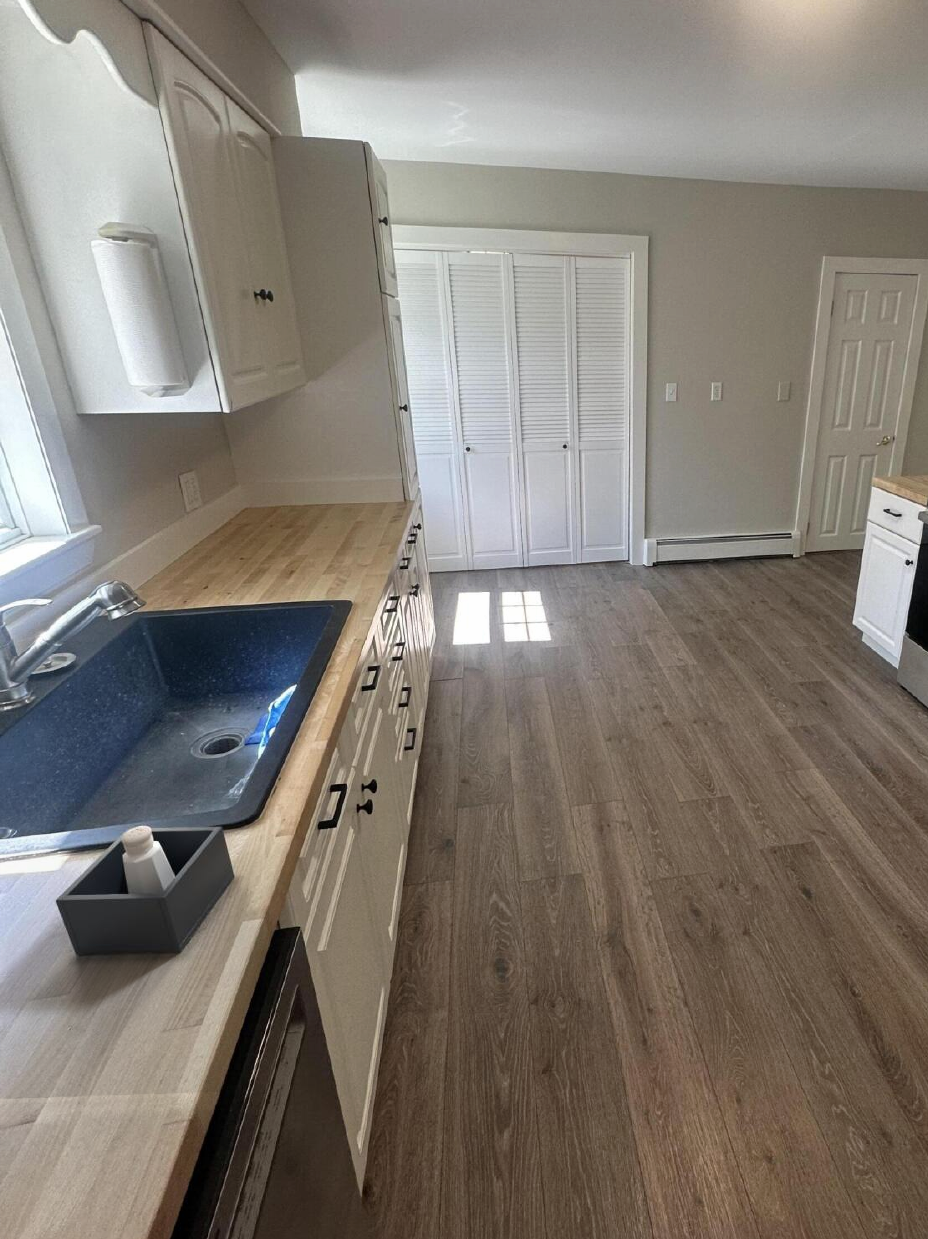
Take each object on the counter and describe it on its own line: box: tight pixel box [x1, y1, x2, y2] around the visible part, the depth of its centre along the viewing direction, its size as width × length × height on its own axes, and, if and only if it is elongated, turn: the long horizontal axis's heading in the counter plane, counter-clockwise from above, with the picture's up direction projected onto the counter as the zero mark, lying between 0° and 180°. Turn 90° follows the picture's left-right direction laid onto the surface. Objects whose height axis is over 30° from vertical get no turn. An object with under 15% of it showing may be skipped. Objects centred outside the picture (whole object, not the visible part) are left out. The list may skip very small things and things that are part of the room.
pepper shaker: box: [121, 825, 175, 894], centre depth 76 cm, size 5×5×11 cm
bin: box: [55, 826, 236, 956], centre depth 77 cm, size 11×11×8 cm
